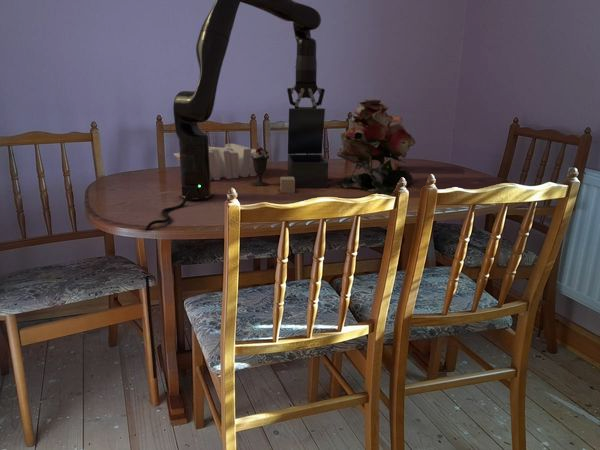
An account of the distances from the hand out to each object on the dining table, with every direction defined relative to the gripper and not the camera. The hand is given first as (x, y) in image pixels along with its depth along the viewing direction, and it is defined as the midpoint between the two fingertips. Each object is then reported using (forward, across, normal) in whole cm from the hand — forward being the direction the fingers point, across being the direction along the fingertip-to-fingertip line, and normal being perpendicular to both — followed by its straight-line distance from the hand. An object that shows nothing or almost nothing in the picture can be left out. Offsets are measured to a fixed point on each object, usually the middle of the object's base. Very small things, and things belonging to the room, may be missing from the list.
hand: (305, 116), depth 196 cm
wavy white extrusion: (+23, -31, +7) cm, 39 cm away
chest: (+23, 0, -8) cm, 24 cm away
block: (+23, -8, -21) cm, 32 cm away
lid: (+5, 0, -3) cm, 6 cm away
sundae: (+23, -17, -10) cm, 30 cm away
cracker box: (+23, +37, +15) cm, 46 cm away
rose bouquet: (+23, +23, -11) cm, 34 cm away
